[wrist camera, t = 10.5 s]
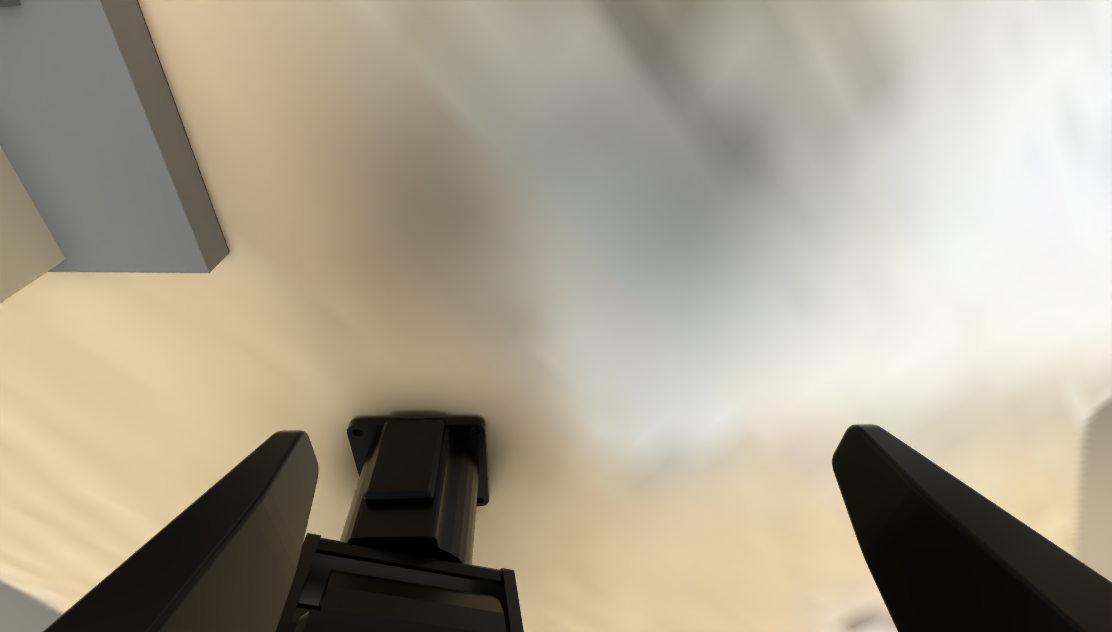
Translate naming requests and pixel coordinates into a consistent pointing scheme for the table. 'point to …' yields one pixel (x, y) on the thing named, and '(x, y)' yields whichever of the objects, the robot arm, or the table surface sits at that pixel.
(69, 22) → the socket board
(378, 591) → the robot arm
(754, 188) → the table surface
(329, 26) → the table surface
